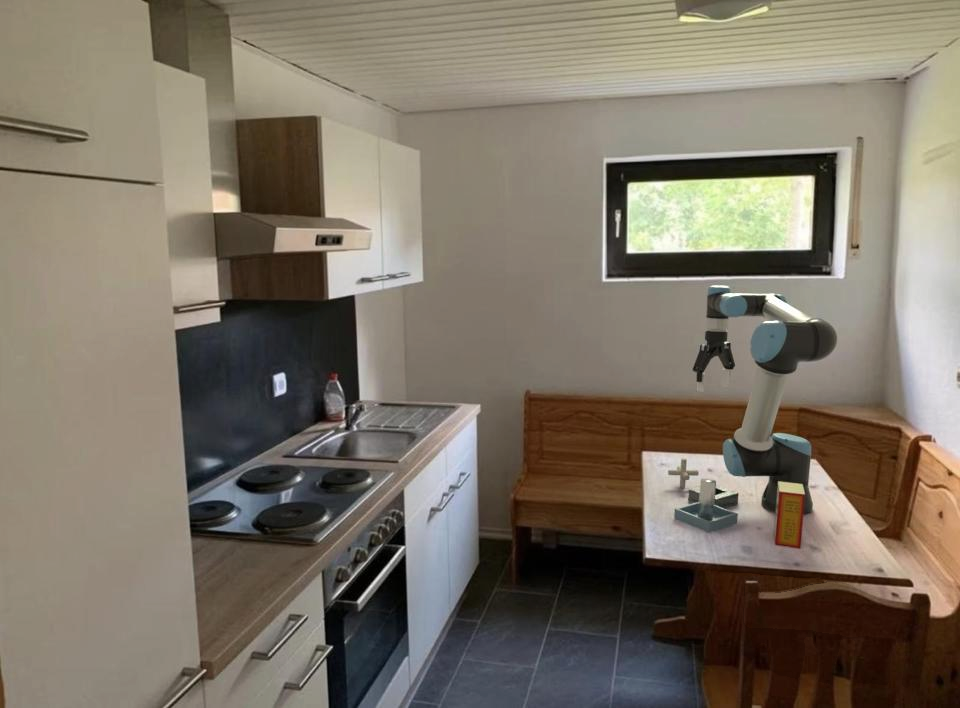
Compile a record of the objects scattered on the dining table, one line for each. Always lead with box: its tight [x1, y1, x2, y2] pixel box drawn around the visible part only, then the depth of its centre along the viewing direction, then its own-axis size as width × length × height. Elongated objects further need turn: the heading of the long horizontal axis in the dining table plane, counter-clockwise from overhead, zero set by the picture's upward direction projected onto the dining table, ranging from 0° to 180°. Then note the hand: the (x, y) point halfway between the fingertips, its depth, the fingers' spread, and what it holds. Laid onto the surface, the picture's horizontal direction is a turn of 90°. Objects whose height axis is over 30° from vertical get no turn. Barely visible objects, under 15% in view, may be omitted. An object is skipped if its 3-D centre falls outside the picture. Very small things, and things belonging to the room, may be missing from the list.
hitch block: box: [687, 484, 740, 508], centre depth 236 cm, size 11×11×4 cm
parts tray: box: [673, 502, 739, 534], centre depth 219 cm, size 13×13×3 cm
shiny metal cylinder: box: [698, 477, 717, 521], centre depth 218 cm, size 4×4×12 cm
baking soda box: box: [773, 481, 805, 550], centre depth 204 cm, size 10×6×16 cm
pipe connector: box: [667, 457, 700, 489], centre depth 249 cm, size 10×10×10 cm
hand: (712, 389), depth 258 cm, fingers open, 13 cm apart
